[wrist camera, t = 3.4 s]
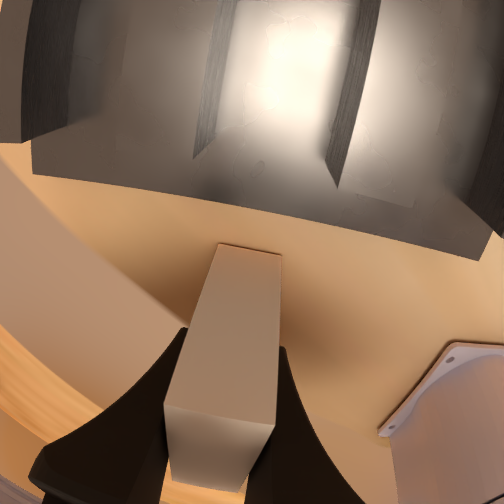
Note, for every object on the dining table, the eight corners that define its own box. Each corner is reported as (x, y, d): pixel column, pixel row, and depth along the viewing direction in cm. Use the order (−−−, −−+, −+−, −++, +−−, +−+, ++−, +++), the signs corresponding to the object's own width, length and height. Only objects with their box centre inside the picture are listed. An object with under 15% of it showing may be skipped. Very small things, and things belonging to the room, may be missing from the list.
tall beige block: (254, 358, 15) (237, 492, 9) (205, 349, 15) (172, 480, 9) (281, 255, 12) (275, 425, 6) (218, 243, 12) (163, 404, 6)
